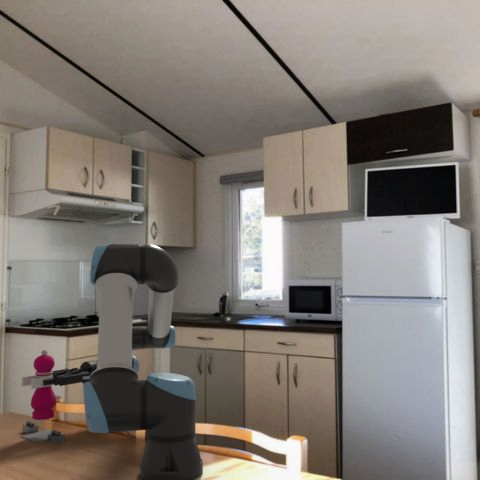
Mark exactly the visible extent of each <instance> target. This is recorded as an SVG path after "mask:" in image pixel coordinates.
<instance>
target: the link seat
mask: <svg viewBox="0 0 480 480" xmlns="http://www.w3.org/2000/svg"><path fill="white" fill-rule="evenodd" d="M52 430H53V429H46V430H43V431H42V430H41V431H38V432H36V433H32V434H27V433H26V434H23V435H21V436H20V437H21V438H22V439H25V440H27V441H30V442H33V443H36V444H37V443H40V442H41V443H42V442H45V441H48V434H50V433H51V431H52Z"/></svg>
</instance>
